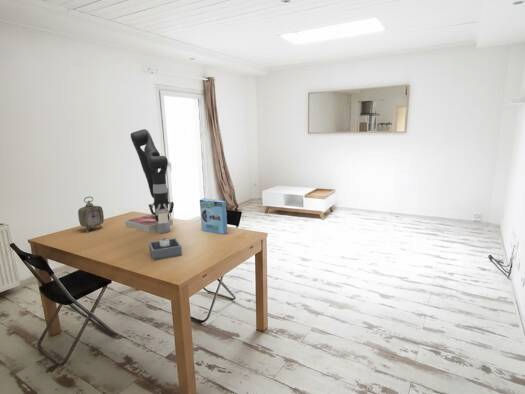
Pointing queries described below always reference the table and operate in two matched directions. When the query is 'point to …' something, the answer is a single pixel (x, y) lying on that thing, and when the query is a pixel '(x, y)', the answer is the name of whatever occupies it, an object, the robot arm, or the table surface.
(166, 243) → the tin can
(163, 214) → the cream box
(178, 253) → the tote
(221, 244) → the table surface
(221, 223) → the gum box
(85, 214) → the tabletop clock
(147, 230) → the product packaging
